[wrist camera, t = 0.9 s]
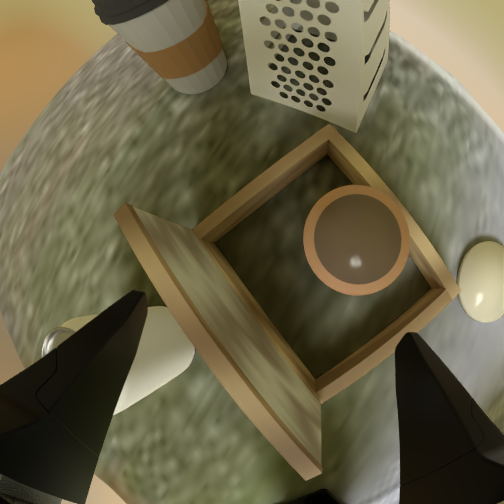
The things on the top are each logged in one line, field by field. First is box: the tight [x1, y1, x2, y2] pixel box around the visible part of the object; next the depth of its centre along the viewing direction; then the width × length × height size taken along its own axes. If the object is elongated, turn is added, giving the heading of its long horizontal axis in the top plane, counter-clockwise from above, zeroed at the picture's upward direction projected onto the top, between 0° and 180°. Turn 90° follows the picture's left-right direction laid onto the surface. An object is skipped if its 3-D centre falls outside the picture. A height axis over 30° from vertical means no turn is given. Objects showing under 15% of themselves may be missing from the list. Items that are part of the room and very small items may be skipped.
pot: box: [303, 185, 410, 295], centre depth 19 cm, size 6×6×7 cm
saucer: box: [457, 241, 504, 322], centre depth 19 cm, size 7×7×1 cm
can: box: [41, 306, 195, 415], centre depth 19 cm, size 6×6×12 cm
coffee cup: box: [92, 0, 227, 94], centre depth 19 cm, size 8×8×15 cm
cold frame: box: [114, 124, 461, 481], centre depth 17 cm, size 16×14×12 cm
